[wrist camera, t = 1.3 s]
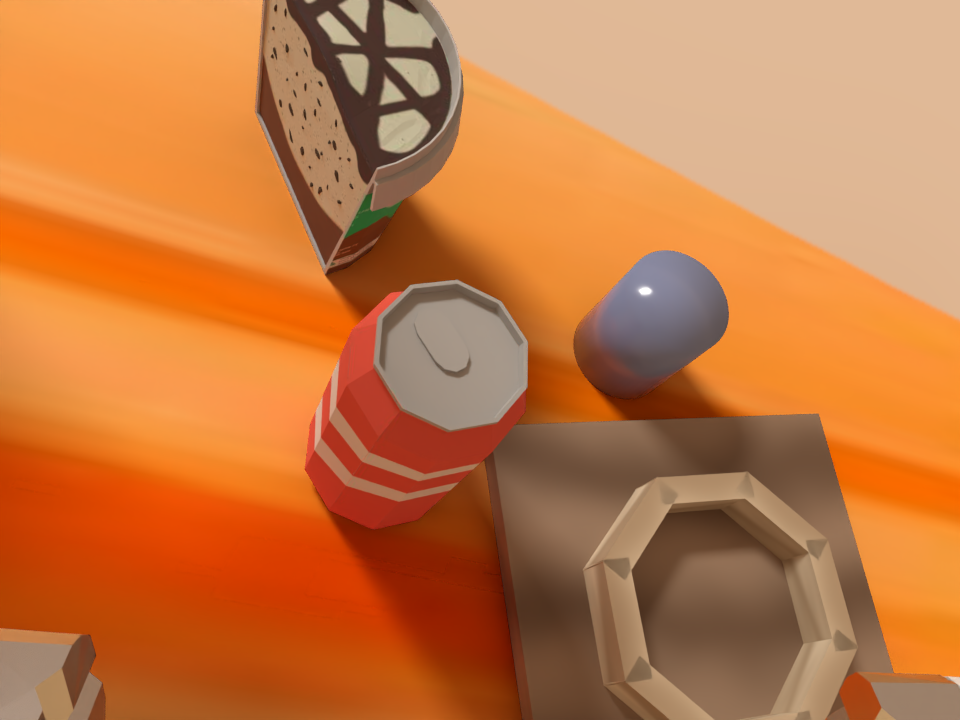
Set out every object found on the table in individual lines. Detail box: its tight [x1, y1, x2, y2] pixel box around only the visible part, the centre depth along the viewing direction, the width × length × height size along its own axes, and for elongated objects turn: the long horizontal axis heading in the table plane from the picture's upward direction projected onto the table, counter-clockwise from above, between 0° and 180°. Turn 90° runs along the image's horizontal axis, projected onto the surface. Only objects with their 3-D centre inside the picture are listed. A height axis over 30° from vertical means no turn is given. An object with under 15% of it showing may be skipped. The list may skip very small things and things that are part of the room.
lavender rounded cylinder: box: [574, 251, 729, 399], centre depth 42 cm, size 5×5×6 cm
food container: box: [255, 0, 464, 275], centre depth 39 cm, size 12×6×10 cm, turn 26°
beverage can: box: [305, 280, 528, 530], centre depth 33 cm, size 6×6×12 cm
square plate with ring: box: [485, 414, 894, 720], centre depth 39 cm, size 18×18×3 cm
